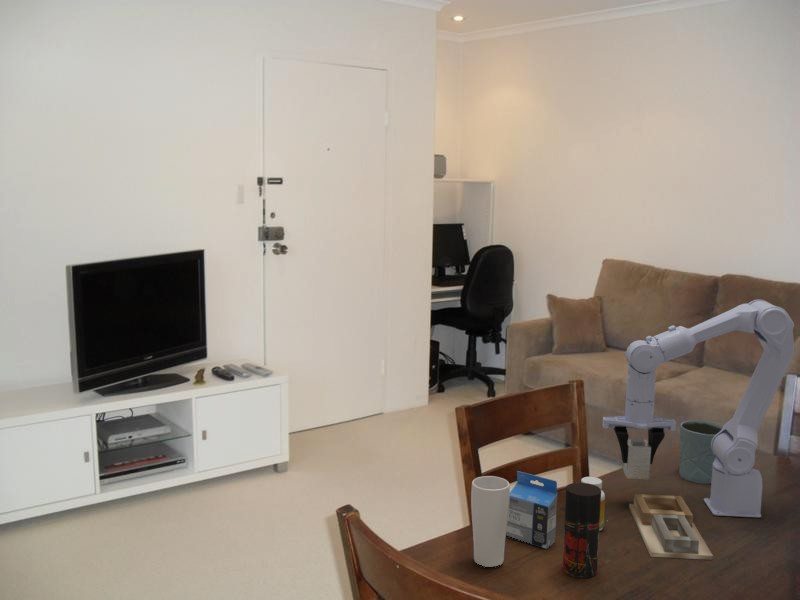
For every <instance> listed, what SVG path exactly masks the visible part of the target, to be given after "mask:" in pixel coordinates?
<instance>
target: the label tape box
mask: <svg viewBox="0 0 800 600" xmlns="http://www.w3.org/2000/svg"><path fill="white" fill-rule="evenodd" d="M516 477H517V478H516V483H515V485H514V486H513V488H512V489H511V490H510V503H509V513H508V522H507V530H506V535H507V536H510V537H512V538H511V539H513V538H515V539H514V540H516V539H518V540H517V541H520V540H521V542H523V541H524V542H523V543H526V542H527V544H529V543H530V545H534V546H536V547H540V548H542V549H549V548H550V547H551V546H552V545H553V543H554V544H555V542H556V525H557V503H558V483H557V482H558V481H557V480H553V479H549V478H546V477H542V476H539V475H534V474H531V473H528V472H524V471H523V472H522V471H519V470H517V471H516ZM531 481H532V482H531ZM536 481H537V482H538V483H540V484H543V485H539V484H536V483H533V482H536ZM510 537H509V538H510ZM549 546H550V547H549Z"/></svg>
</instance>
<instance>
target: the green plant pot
mask: <svg viewBox="0 0 800 600" xmlns="http://www.w3.org/2000/svg"><path fill="white" fill-rule="evenodd" d="M723 426H724V425H721V424H718V423H714V422H711V421H710V422H709V421H706V420H705V421H703V420H687V421H682V422H681V423H680V425H679V440H680V443H679V476H680V477H681V479H683V480H685V481H688V482H691V483H695V484H701V485H702V484H703V485H705V484H709V485H710V484H711V482H712V468H713V462H714V460H715V458H716V455H714V453H713V452H712V449H711V441H712V439H713V437H714V436H715V435H716V434H717V433H719V432H720V431H721V430H722V428H723Z"/></svg>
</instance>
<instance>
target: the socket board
mask: <svg viewBox="0 0 800 600" xmlns="http://www.w3.org/2000/svg"><path fill="white" fill-rule="evenodd" d="M628 508H629V511H630V513H631V515H632V518H633V520H634V523H635V525H636V526H637V530H638V531H639V533H640V535H641V538H642V540H643V543H644V545H645V547H646V550H647V552H648V555H649V556H650V558H651V557H652V558H668V559H686V560H687V559H688V560H703V561H705V560H707V561H713V560H714V555H713V553H712V551H711V550H710V549H709V546H708V545H707V543H706V541H705V539H704V538H703V537H702V534H700V532H699V530H698V528H697V527H696V525H695V523H694V515H693V513H692V511H691V510H690V508H689V507H688V505H687V503H686V501H685V500H684V498H683V497H682V495H668V494H667V495H661V494H641V493H640V494H639V493H634V494H633V503H628Z"/></svg>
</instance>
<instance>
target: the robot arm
mask: <svg viewBox="0 0 800 600" xmlns="http://www.w3.org/2000/svg"><path fill="white" fill-rule="evenodd" d="M667 328H668V329H667V331H664V332H661V333H658V334H656V335H654V336H651V335H648V336H646V337H645V340H641V339H639V340H638V339H637V340H635V341H632V342H631V343H630V344H629V346H627V349H626V351H625V352H624V355H625V359H626V361H627V363H628V365H627V376H626V387H625V405H624V406H625V407H624V415H618V416H602V428H603V429H607V430H608V429H613V431H614V433H615V435H616V438H617V441H618V445H619V448H620V449H619V450H620V452H621V461H622V463H623V464H624V463H627V444H628V439H629V434H628V433H629V432H628V429H633V430H634V429H636V430H638V429H639V430H647V434H648V435H647V441H648V443H649V444H650V446H651V456H650V465H653V462H654V458H655V455H656V453H657V450H658V448H659V447H660V445H661V443H662V441H663V440H664V438H665V435H666V434H665V430H666V431H669V432H676V431H677V430H676V429H677V428H676V427H677V422H676V420H675V419H674V418H673V419H670V418H662V417H661V418H660V417H654V416H655V414H654V413H655V397H656V380H657V378H656V371H657V369H658V367H660V364H664V363H667V362H669V361H672V360H675V359H677V358H679V357H682V356H684V355H687V354H689V353H692V352H693V350H694V349H695V346H696V345H697V344H698V343H699V344H700V343H701V342H704V341H707V340H711V339H714V338H716V337H720V336H722V335H725V334H728V333H731V332H733V331H737V332H738V331H739V332H744V333H749V334H755V335H756V336H757V339H758V341H759V344H760V345H761V347H762V349H763V352H762V354H761V357H760V358H759V361H758V363H757V364H756V367H755V369H754V371H753V373H752V375H751V376H750V377H751V378H750V379H749V381H748V384H747V386H746V387H745V388H746V389H745V390H744V392H743V394H742V397H741V399H740V401H739V403H738V405H737V407H736V410H735V412H734V414H733V416H732V417H731V419H730V420H728V421H727V422H725V423H724V425H722V426H723V428H722V430H721V431H720V432H719V433H717V434H716V435H715V436H714V437H713V439H712V441H711V449H712V452H713V453H714V455H716V458H715V460H714V462H713V468H712V482H711V486H710V497H704V498H703V501H704V503H705V504H706V506H707V507H708V509H709V511H710V513H711V514H712V515H713V516H720V517H721V516H722V517H723V516H724V517H725V516H726V517H741V518H742V517H743V518H762V514H761V512H762V510H761V509H762V500H763V499H762V498H763V497H762V496H763V478H762V477H763V476H762V475H761V472H760V470H758V469H755V468H753V467H754V465H755V463H756V449H757V447H758V445H759V441H758V439H759V438H758V431H759V429H760V426H761V425H762V423H763V420H764V418H765V417H766V414H767V412H768V410H769V407H770V405H771V403H772V401H773V400H774V398H775V395H776V393H777V392H778V388H779V387H780V385H781V383H782V380H783V378H784V377H785V374H786V373H787V370H788V368H789V366H790V364H791V361H792V359H793V358H794V355H795V341H794V331H793V330H794V328H795V323H794V321H793V319H792V317H791V316H790V315H789V313H788V312H787V311H786V309H784V308H783V307H780V306H777V305H774V304H772V303H770V302H769V301H767V300H765V299H754V300H751V301H750V302H748V303H742V304H739V305H737V306H735V307H733V308H731V309H729V310H727V311H725V312H723V313H720V314H718V315H716V316H714V317H711V318H709V319H707V320H705V321H703V322H700V323H698V324H697V325H694V326H692V327H689V328H687V327H684V326H683V325H679V326H675V325H674V324H673V325H670V326H668V327H667Z"/></svg>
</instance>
